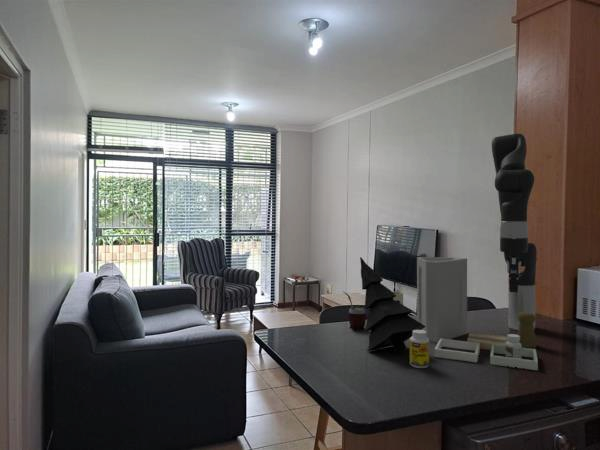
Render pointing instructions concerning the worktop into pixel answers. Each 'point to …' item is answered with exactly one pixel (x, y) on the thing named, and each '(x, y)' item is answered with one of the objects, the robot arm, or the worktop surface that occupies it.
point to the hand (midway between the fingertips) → (513, 289)
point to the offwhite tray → (457, 354)
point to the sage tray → (514, 361)
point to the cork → (526, 329)
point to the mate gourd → (356, 316)
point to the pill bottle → (513, 347)
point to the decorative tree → (385, 314)
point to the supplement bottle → (419, 349)
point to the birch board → (487, 340)
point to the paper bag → (442, 296)
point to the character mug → (398, 297)
